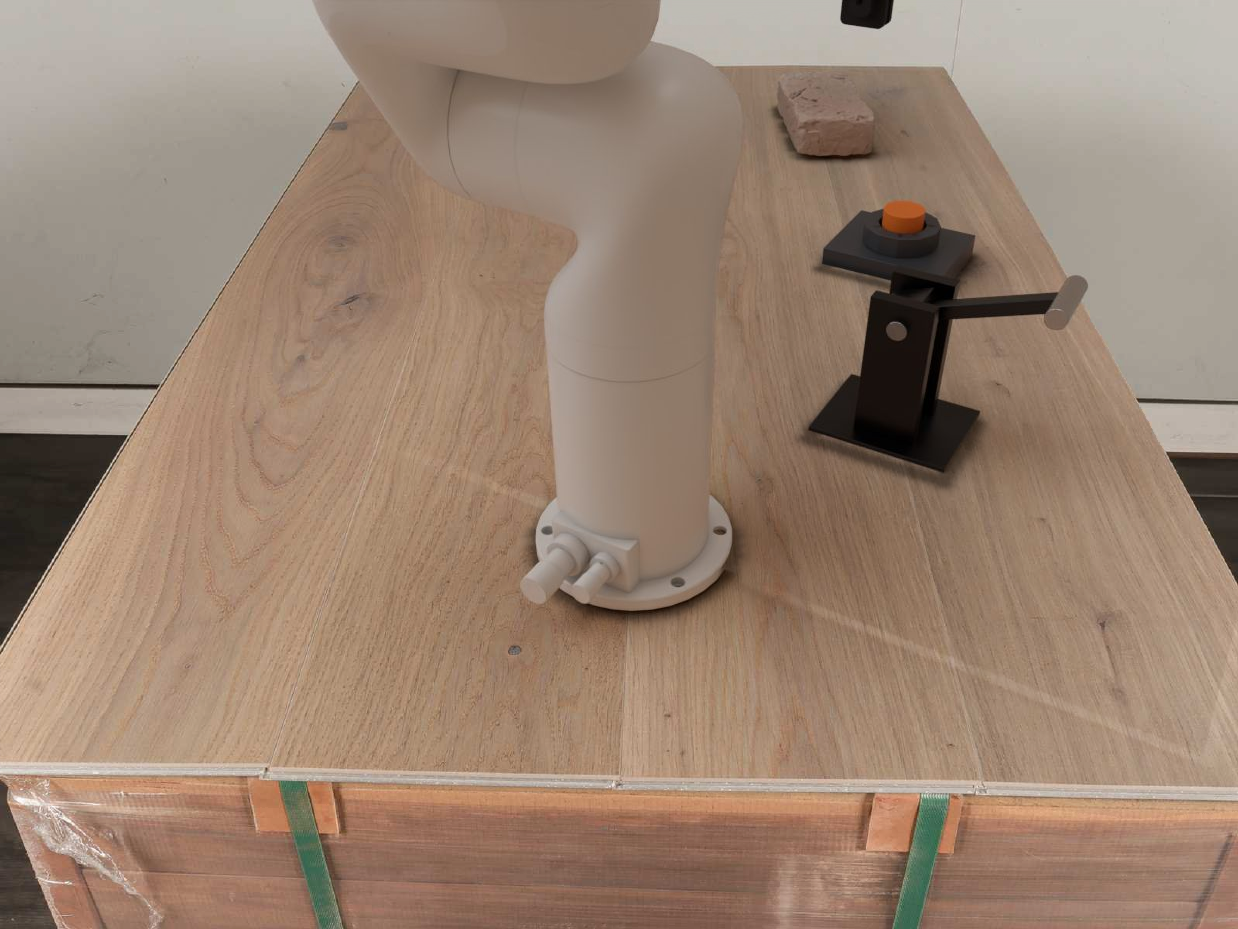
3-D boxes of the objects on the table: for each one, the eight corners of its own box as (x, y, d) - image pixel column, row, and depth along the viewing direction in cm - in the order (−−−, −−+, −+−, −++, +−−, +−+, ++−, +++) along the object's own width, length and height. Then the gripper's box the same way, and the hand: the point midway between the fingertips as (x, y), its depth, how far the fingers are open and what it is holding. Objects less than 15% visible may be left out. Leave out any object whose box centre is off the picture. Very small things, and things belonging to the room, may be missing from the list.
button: (928, 223, 100) (931, 205, 99) (914, 239, 98) (917, 221, 96) (890, 215, 101) (892, 197, 100) (875, 230, 99) (877, 212, 98)
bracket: (977, 424, 82) (1008, 280, 74) (941, 483, 76) (971, 334, 69) (849, 386, 86) (867, 247, 79) (806, 439, 81) (821, 295, 73)
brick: (773, 107, 134) (776, 67, 131) (843, 104, 134) (847, 65, 131) (796, 162, 120) (800, 120, 118) (873, 159, 121) (879, 117, 118)
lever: (1090, 301, 71) (1085, 266, 70) (1070, 337, 67) (1065, 301, 66) (908, 312, 78) (902, 281, 77) (882, 345, 75) (875, 312, 74)
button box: (971, 256, 102) (979, 216, 100) (939, 299, 96) (946, 257, 94) (858, 231, 107) (863, 191, 105) (821, 269, 101) (825, 229, 99)
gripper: (919, -281, 61) (876, 59, 72) (998, -295, 71) (951, 6, 82) (793, -284, 64) (771, 43, 75) (887, -297, 75) (855, -7, 85)
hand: (865, 23), depth 79 cm, fingers closed
